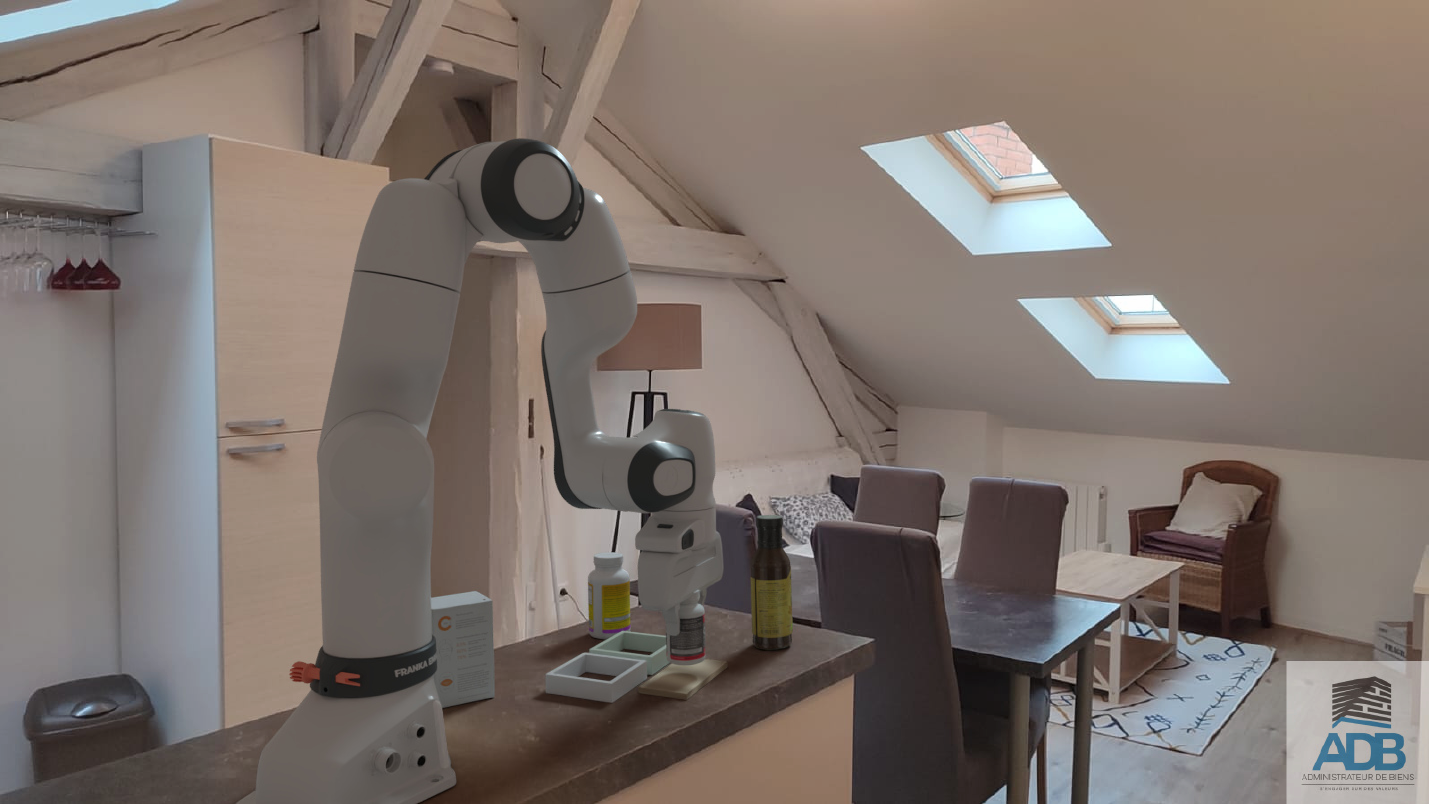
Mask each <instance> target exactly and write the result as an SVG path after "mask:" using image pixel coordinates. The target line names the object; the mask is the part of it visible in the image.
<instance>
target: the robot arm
mask: <svg viewBox="0 0 1429 804" xmlns="http://www.w3.org/2000/svg"><path fill="white" fill-rule="evenodd" d="M577 177H578V176H577V175H576V173H575V171H574V169H573V167H572V165H571V164H570V162H569V161H568V160H567V158H566V157H565V156H564V155H563V154H562V153H561V152H560V151H559V149H557V148H555V147H554V146H552V145H550V144H548V143H546V142H544V141H540V140H536V139H532V138H531V139H530V138H522V137H521V138H520V137H519V138H513V139H510V140H505V141H504V140H503V141H485V142H481V143H478V144H475V145H472V146H469V147H467V148H464V149H460V150H459V149H458V150H456V151H452V152H451V153H449V154H447V155H445V156H444V157H442V159H440V160H439V161H438V162H437V163H436V164H435V165H434V166H433V167H432V169H431V170H430V171H429V173H428V174H427V175H426V176H425V177H424V178H417V177H415V178H413V177H409V178H402V179H397V180H394V181H392V182H389V183H388V184H386V185H385V186H383V188H381V190H380V191H379V192H378V195H377V197H376V198H375V201H374V203H373V206H372V207H371V210H370V212H369V215H368V219H367V221H366V223H365V226H364V230H363V233H362V236H361V239H360V243H359V247H358V250H357V253H356V257H355V263H354V267H353V272H352V277H351V282H350V286H349V287H350V288H349V293H348V299H347V302H346V309H345V313H344V314H345V315H344V319H343V325H342V330H341V334H340V335H341V336H340V341H339V346H338V350H337V355H336V360H335V363H334V368H333V373H332V374H333V375H332V378H331V384H330V388H329V393H328V398H327V401H326V407H325V412H324V416H323V420H322V421H323V422H322V427H321V431H320V436H319V440H318V447H317V452H316V465H317V474H318V475H317V476H318V501H319V503H318V506H319V507H318V509H319V511H318V512H319V544H320V545H319V546H320V549H319V551H320V555H319V556H320V590H321V591H320V597H321V624H322V625H321V627H322V633H321V634H322V646H320V647H319V650H318V653H317V657H316V660H315V663H307V662H304V661H300V660H299V661H296V662H294V663H293V664H292V665H291V668H290V669H289V676H290V677H289V679H290V680H291V681H292V682H295V683H302V682H303V683H304V684H309V688H310V690H309V692H308V693H307V695H305V697H303V699H302V701H301V702H300V703H299V705H298V706H297V707H296V708H295V709H294V711H293V712H292V713H291V715H290V716H289V717H288V718H287V719H286V720H285V722H284V723H283V725H282V726H281V727H280V728H279V729H278V731H276V733H275V734H274V735H273V737H271V738H270V740H269V741H268V742H267V743H266V745H265V746H264V747H263V749H262V751H261V753H260V757H259V761H258V765H257V771H256V772H257V773H256V781H255V782H256V784H255V790H253V791H252V792H250V793H249V794H247V795H246V796H244V797H243V798H242V799H240V800H238V801H237V802H236V803H235V804H418V803H421V802H423V801H425V800H427V799H429V798H431V797H434V796H436V795H438V794H441V793H442V792H444V791H446V790H449V789H450V788H453V787H454V786H455V785H456V784H457V776H456V775H457V774H456V771H455V770H454V769H453V768H452V766H451V764H452V760H451V757H450V755H449V752H448V744H447V736H446V735H447V734H446V727H445V722H444V713H443V708H442V705H441V702H440V699H439V696H438V693H437V690H436V686H435V681H434V673H435V672H436V671H437V658H438V650H437V649H436V638H435V637H434V636H433V635H432V615H431V598H432V585H431V584H432V581H431V579H432V576H431V575H432V574H431V571H432V569H431V566H432V565H431V564H432V563H431V559H432V549H433V547H432V546H433V531H434V530H433V529H434V514H435V513H434V510H435V509H434V508H435V457H434V453H433V450H432V448H431V446H430V443H429V441H428V440H427V439H428V438H427V437H428V433H429V429H430V425H431V421H432V417H433V413H434V409H435V405H436V402H437V399H438V395H439V391H440V388H441V384H442V381H443V378H444V374H445V372H446V369H447V366H448V362H449V355H450V351H451V345H452V340H453V336H454V328H455V326H456V325H455V323H456V319H457V313H458V308H459V303H460V297H461V291H462V287H463V280H464V274H465V273H464V271H465V265H466V264H467V261H468V258H469V256H470V253H472V250H473V249H474V248H475V246H476V245H477V243H480V242H490V243H494V244H508V243H516V242H519V243H520V244H521V245H522V247H524V248H525V250H526V252H527V253H528V254H529V256H530V257H531V258H530V259H532V262H533V263H534V267H535V270H536V275H537V280H538V284H539V288H540V291H541V294H542V298H543V302H544V308H545V317H546V319H545V320H546V326H545V330H544V332H543V335H542V338H541V345H540V347H541V348H540V350H541V352H540V354H541V356H540V357H541V363H542V365H541V367H542V373H543V379H544V380H543V381H544V386H545V391H546V398H547V404H548V411H549V416H550V422H551V429H552V437H553V478H554V482H555V486H556V488H557V490H558V492H559V495H560V496H561V498H562V499H563V500H564V501H565V502H566V503H567V504H569V505H570V506H571V507H574V508H576V509H579V510H583V509H584V510H603V509H604V510H611V511H619V512H631V513H638V514H650V516H649V517H648V518H647V520H646V522H645V523H644V525H643V527H641V529H639V531H638V532H637V533H636V534H635V538H634V545H635V549H636V550H638V551H641V552H640V553H639V555H638V560H637V587H638V588H637V591H638V600H639V603H640V605H641V607H642V608H643V610H644V611H645V610H646V611H652V612H661V613H662V617H663V619H664V621H665V634H666V633H667V634H668V635H672V636H677V635H678V634H680V633H681V632H682V631H683V628H682V625H683V622H682V620H680V619H679V614H678V611H679V610H680V603H681V602H683V601H684V600H686V599H688V598H690V597H691V596H692V595H693V593H694V592H695V591H697V590H699V593H700V598H699V601H698V603H699V604H701V605H702V606H703V607H704V605H705V602H706V598H707V594H708V593H707V592H708V590H707V588H709V587H710V586H713V585H714V584H716V583H717V582H719V581H721V580H722V578H723V574H724V556H723V555H724V553H723V543H722V536H721V533H720V532H718V530H717V509H716V508H717V506H716V505H717V503H716V500H715V499H716V498H715V496H714V491H713V490H714V488H713V487H714V486H713V485H714V482H715V477H716V448H715V439H714V433H713V428H712V424H711V421H710V418H709V417H708V416H706V415H705V414H704V413H701V412H698V411H696V410H695V411H694V410H687V409H685V410H684V409H680V408H679V409H678V408H662V409H659V410H656V411H655V412H654V413H655V414H654V417H653V420H652V421H651V422H650V423H649V425H647V426H646V427H645V428H643V429H642V430H641V431H640V432H639V433H636V434H634V435H632V437H630V436H629V437H624V436H623V437H620V436H610V435H607V434H606V433H605V432H604V431H602V430H601V428H600V426H599V424H598V422H597V421H598V420H597V415H596V408H595V401H594V394H593V387H592V379H591V370H592V366H593V364H594V362H595V361H596V359H597V358H598V357H599V356H601V355H602V354H604V353H605V352H607V351H609V350H610V349H612V348H613V347H616V345H618V344H620V342H622V341H623V340H624V339H625V338H626V336H627V335H628V334H629V333H630V331H631V329H632V327H633V326H634V323H635V321H636V318H637V315H638V298H637V297H638V295H637V291H636V287H635V282H634V278H633V274H632V271H631V267H630V264H629V260H628V256H627V254H626V250H625V246H624V244H623V241H622V239H621V235H620V232H619V230H618V227H617V225H616V223H615V221H614V218H613V216H612V213H611V211H610V209H609V207H608V205H607V202H606V201H605V200H604V198H603V197H602V196H601V195H600V194H599V193H597V192H596V191H595V190H592V189H589V188H586V187H583V185H582V184H581V182H580V181H579V180H578V178H577Z"/></svg>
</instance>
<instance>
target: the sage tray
mask: <svg viewBox="0 0 1429 804" xmlns="http://www.w3.org/2000/svg"><path fill="white" fill-rule="evenodd" d="M623 650H631V651H632V650H633V651H639V652H640V651H641V652H649V653H651V654H650V655H648V654H641V653H634V652H627V651H626V652H625V651H623ZM588 651H589V652H588V653H592V654H600V655H607V656H615V657H623V658H630V659H638V660H646V661H647V676H653V675H654V674H657V672H660V671H661V669H662V670H663V669H664V668H665V667H667V666H668V665H670V664H671V663H670V662H668V660H667V652H666V635H663V634H661V635H660V634H653V633H644V632H638V631H637V632H636V631H630V632H629V631H621V632H619V633H617V634H616V635H614V636H612V637H610V638H609V639H604V640H603V641H602V642H600V643H598V644H596V645H595V646H593V647H591V648H589V650H588Z"/></svg>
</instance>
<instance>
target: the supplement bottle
mask: <svg viewBox="0 0 1429 804" xmlns="http://www.w3.org/2000/svg"><path fill="white" fill-rule="evenodd" d="M623 563H624V554H623V553H622V552H621V553H620V552H612V551H610V552H609V551H608V552H607V551H605V552H599V553H596V554H594V555H593V564H594V569H593V570H592V571H590V573H589V574H588V576H587V593H588V594H587V596H588V597H587V598H588V599H587V600H588V603H587V604H588V607H587V608H588V609H587V610H588V633H589V635H590V636H591V637H592V638H595V639H598V640H607V639H609V638H610V637H612V636H614V635H616V634H617V633H619V632H621V631H629V632H631V591H630V590H631V581H630V579H631V578H630V574H629V572H628V571H627V570H626V569H624V568H623Z"/></svg>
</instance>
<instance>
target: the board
mask: <svg viewBox="0 0 1429 804" xmlns="http://www.w3.org/2000/svg"><path fill="white" fill-rule="evenodd" d="M727 668H728V661H726V660H725V661H724V660H717V659H709V658H705V660H704V661H703V662H701V663H698V664H695V665H676V664H672V663H670V664H668V665H667V666H665V667H664V668H662V670H660V671H658V673H655V675H654V676H653V675H652V677H651V678H650V679H647V680H645V682H644V683H643V682H642V683H641V684H640V685H638V694H643V695H644V694H645V695H650V696H658V697H664V698H665V697H666V698H672V699H678V700H685V701H688V699H690V698H691V697H692V696H694V695H695V694H696V693H697V692H698V691H700V690H701V689H702V688H703V687H705V686H706V685H708V683H710V682H711V681H712V680H713V679H714V678H716V677H717V676H718V675H719V674H721V673H722V672H724V670H726V669H727Z"/></svg>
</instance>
